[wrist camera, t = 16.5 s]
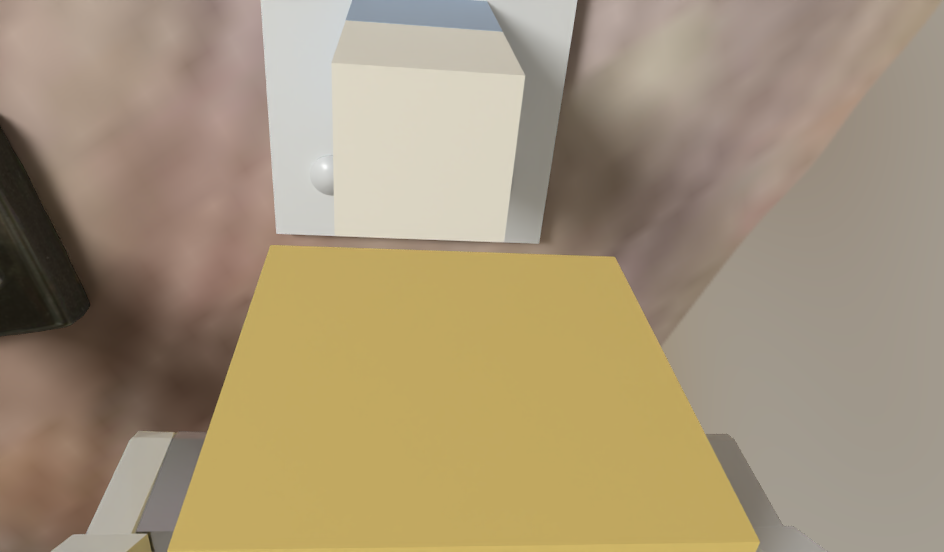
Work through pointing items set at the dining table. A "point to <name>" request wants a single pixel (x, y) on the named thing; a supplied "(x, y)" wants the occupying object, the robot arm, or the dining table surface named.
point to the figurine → (32, 259)
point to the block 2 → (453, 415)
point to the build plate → (310, 106)
